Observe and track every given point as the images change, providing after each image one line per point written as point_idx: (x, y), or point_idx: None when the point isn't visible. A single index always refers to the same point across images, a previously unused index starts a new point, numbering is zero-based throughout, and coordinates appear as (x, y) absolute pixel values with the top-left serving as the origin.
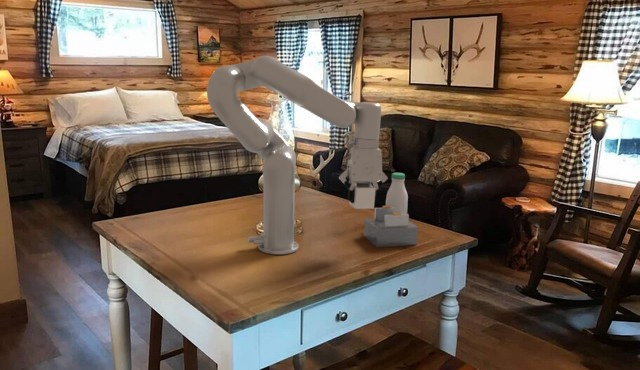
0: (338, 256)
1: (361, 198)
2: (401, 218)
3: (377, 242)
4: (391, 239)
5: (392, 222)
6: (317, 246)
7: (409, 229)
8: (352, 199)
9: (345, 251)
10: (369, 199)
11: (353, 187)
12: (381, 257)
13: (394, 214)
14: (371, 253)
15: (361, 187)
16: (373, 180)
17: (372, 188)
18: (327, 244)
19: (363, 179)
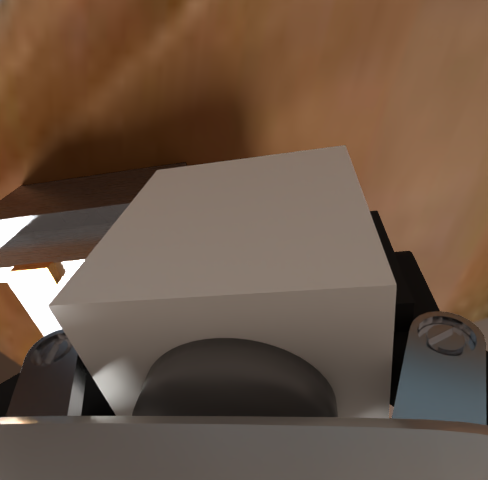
0: (394, 39)
1: (285, 201)
2: (23, 255)
3: None
4: (112, 183)
5: (78, 239)
6: (444, 184)
7: (12, 214)
8: (383, 228)
9: (337, 114)
10: (183, 204)
11: (419, 348)
12: (178, 18)
13: (47, 264)
14: (219, 82)
15: (283, 333)
16: (8, 440)
17: (99, 299)
18: (390, 206)
19: (254, 476)
